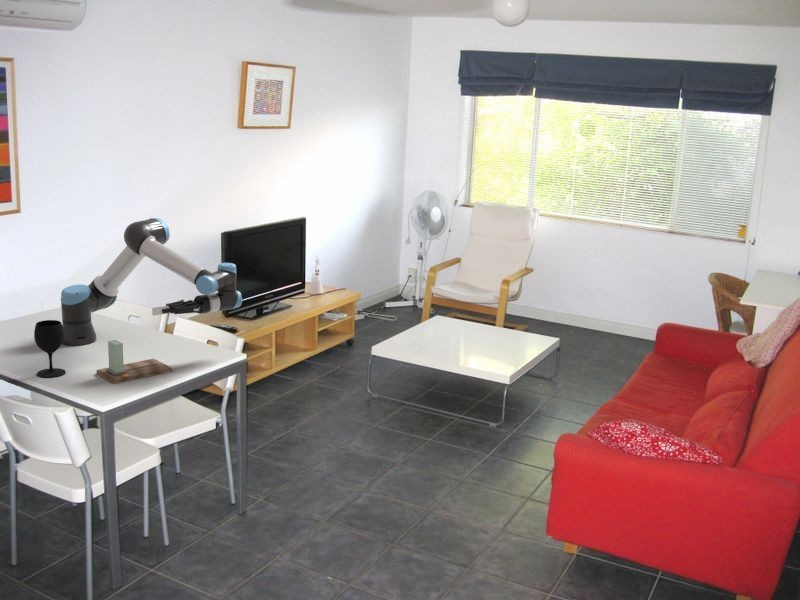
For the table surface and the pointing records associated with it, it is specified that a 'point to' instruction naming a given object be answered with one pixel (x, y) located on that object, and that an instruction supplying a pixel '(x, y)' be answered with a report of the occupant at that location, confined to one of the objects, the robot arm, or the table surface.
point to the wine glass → (49, 344)
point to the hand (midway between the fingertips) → (153, 311)
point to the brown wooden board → (136, 371)
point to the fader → (115, 357)
